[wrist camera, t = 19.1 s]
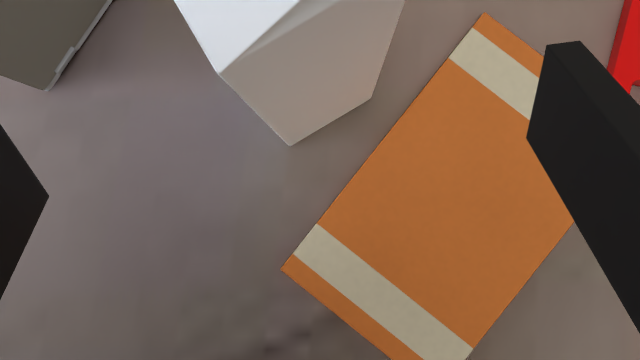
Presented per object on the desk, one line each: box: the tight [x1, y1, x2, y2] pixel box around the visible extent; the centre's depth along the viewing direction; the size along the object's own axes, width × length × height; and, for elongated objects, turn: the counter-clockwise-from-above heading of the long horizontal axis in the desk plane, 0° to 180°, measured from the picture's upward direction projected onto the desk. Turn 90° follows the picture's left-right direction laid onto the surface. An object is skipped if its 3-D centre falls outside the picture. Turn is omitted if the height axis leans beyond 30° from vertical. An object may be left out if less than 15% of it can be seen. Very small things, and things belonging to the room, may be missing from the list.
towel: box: [281, 12, 574, 360], centre depth 30 cm, size 12×20×1 cm, turn 142°
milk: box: [174, 0, 405, 146], centre depth 20 cm, size 6×6×22 cm
